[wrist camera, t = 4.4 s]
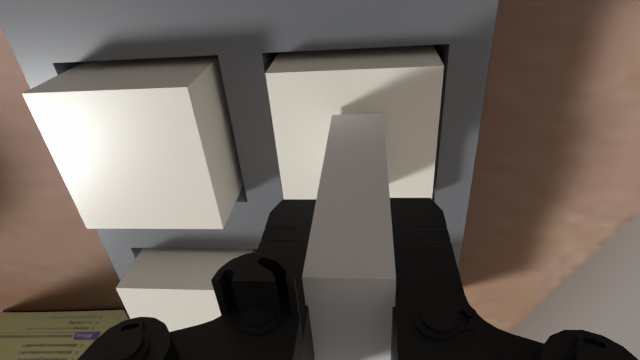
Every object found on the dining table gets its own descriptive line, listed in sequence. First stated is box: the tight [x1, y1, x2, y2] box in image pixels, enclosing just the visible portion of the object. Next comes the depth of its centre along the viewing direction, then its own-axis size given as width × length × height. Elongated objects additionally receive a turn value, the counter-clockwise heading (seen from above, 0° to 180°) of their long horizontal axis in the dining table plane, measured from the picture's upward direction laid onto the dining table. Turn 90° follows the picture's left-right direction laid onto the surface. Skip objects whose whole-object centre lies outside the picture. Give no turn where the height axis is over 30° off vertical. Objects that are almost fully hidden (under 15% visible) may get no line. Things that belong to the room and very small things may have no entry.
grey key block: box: [0, 0, 499, 281], centre depth 19 cm, size 20×15×6 cm
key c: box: [265, 45, 444, 199], centre depth 14 cm, size 5×5×4 cm
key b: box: [116, 248, 257, 332], centre depth 19 cm, size 5×5×4 cm
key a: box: [22, 55, 244, 229], centre depth 15 cm, size 5×5×4 cm
